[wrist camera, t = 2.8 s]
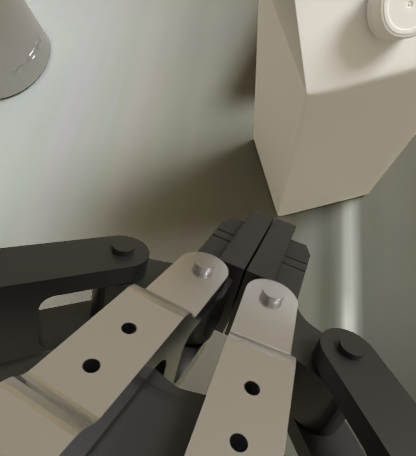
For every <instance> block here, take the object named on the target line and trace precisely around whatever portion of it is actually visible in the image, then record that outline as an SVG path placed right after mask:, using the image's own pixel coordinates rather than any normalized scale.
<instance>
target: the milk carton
mask: <svg viewBox="0 0 416 456" xmlns="http://www.w3.org/2000/svg"><path fill="white" fill-rule="evenodd" d="M415 134H416V0H259V6H258V32H257V57H256V83H255V108H254V134H253V137H254V141H255V145H256V148H257V151H258V154H259V158H260V161H261V164H262V167H263V170H264V174H265V177H266V180H267V183H268V187H269V190H270V193H271V196H272V199H273V203H274V206H275V209H276V212H277V215H278V216H283V215H288V214H292V213H296V212H300V211H304V210H308V209H312V208H316V207H320V206H324V205H327V204H331V203H335V202H339V201H343V200H347V199H351V198H355V197H359V196H363V195H366V194H368V193H369V192H370V191H371V189H372V188H373V187H374V186H375V184H376V183H377V182H378V181H379V179H380V178H381V177H382V176H383V174H384V173H385V172H386V170H387V169H388V168H389V167H390V165H391V164H392V163H393V162H394V160H395V159H396V158H397V157H398V155H399V154H400V153H401V152H402V150H403V149H404V148H405V146H406V145H407V144H408V143H409V141H410V140H411V139H412V138H413V136H414V135H415Z"/></svg>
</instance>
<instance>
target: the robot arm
mask: <svg viewBox="0 0 416 456" xmlns="http://www.w3.org/2000/svg"><path fill="white" fill-rule="evenodd" d="M49 55H50V44H49V40H48V37H47V36H46V34H45V32H44V30H43V29H42V27H41V26H40V24H39V23H38V21H37V19H36V18H35V16H34V15H33V13H32V11H31V10H30V8H29V7H28V5H27V3H26V2H25V0H0V99H1V98H5V97H9V96H12V95H14V94H17V93H19V92H21V91H22V90H24V89H26V88H27V87H29V86H30V85H31V84H32V83H33V82H34V81H35V80H37V78H38V77H39V76H40V75H41V73H42V72H43V70H44V68H45V66H46V65H47V62H48V59H49ZM273 220H274V217H271V216H268V215H266V214H263V213H261V212H258V211H255V210H253V211H252V213H251V214H250V215H249V217H248V218H247V220H246V221H245V222H244V221H242V220H239V219H237V218H231V219H228V220H225V221H223V222H222V223H221V224H220V226H219V227H218V228H217V230H215V232H214V233H213V234H212V235H211V236H210V238H209V239H208V240H207V241H206V242H205V244H204V245H203V246H202V247H201V248H200V250H199V251H198V252H189V253H186V254H184V255H182V256H181V257H180V258H179V259H178V260H176V261H175V262H174V263H168V262H162V261H157V260H152V259H149V250H148V248H147V246H146V245H145V244H144V243H143V242H141V241H139V240H137V239H135V238H132V237H128V236H109V237H100V238H91V239H81V240H72V241H63V242H54V243H45V244H36V245H26V246H17V247H8V248H0V456H285V455H284V452H285V445H286V437H287V432H288V434H289V436H290V438H291V441H292V443H293V445H294V447H295V449H296V452H297V454H298V456H365V454H364V453H363V451H362V449H361V448H360V446H359V444H358V443H357V441H356V439H355V437H354V436H353V434H352V432H351V431H350V429H349V427H348V426H347V424H346V422H345V421H344V420H345V419H347V421H348V423H349V424H350V426H351V428H352V429H353V431H354V433H355V434H356V436H357V438H358V439H359V441H360V443H361V444H362V446H363V448H364V450H365V452H366V454H367V456H416V403H415V402H414V400H413V399H412V398H411V397H410V395H409V394H408V393H407V391H406V390H405V389H404V388H403V386H402V385H401V384H400V382H399V381H398V380H397V379H396V377H395V376H394V375H393V373H392V372H391V371H390V370H389V368H388V367H387V366H386V364H385V363H384V362H383V361H382V359H381V358H380V357H379V355H378V354H377V353H376V351H375V350H374V349H373V348H372V347H371V345H370V344H369V343H368V342H366V341H365V340H364V339H363V338H361V337H360V336H358V335H357V334H355V333H353V332H350V331H348V330H345V329H340V328H331V329H327V330H325V331H324V332H323V333H322V332H320V331H319V330H317V329H316V328H315V327H313V326H312V325H311V324H309V323H308V322H307V321H306V320H305V319H304V318H303V316H302V315H301V313H300V312H299V310H298V301H297V298H298V295H299V292H300V288H301V285H302V281H303V278H304V275H305V271H306V268H307V264H308V261H309V258H310V254H309V251H308V249H307V246H306V245H304V244H301V243H298V242H296V241H293V240H291V238H292V235H293V233H294V230H295V228H296V226H295V225H292V224H290V223H287V222H284V221H282V220H279V219H277V218H275V220H274V222H273ZM272 223H273V224H272ZM90 289H92V300H90V301H85V302H79V303H74V304H69V305H64V306H59V307H54V308H48V309H43V310H38V308H39V306H40V304H41V303H42V302H43V301H44V300H46V299H47V298H49V297H52V296H56V295H62V294H68V293H73V292H79V291H84V290H90ZM229 319H230V320H229ZM228 321H229V323H228ZM227 323H228V326H227V329H226V332H225V334H226V335H228V338H227V340H226V343H225V346H224V349H223V351H222V354H221V357H220V360H219V362H218V365H217V368H216V370H215V373H214V376H213V379H212V381H211V384H210V387H209V390H208V392H207V395H203V394H199V393H195V392H191V391H187V390H183V389H180V388H178V387H179V385H180V384H181V382H182V381H183V380H184V378H185V377H186V375H187V374H188V372H189V371H190V369H191V368H192V366H193V365H194V363H195V362H196V360H197V359H198V358H199V356H200V355H201V353H202V352H203V350H204V348H205V346H206V343H207V340H208V339H209V338H210V337H211V335H212V333H213V331H214V330H217V331H219V332H221V333H223V331H224V329H225V327H226V325H227Z"/></svg>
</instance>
